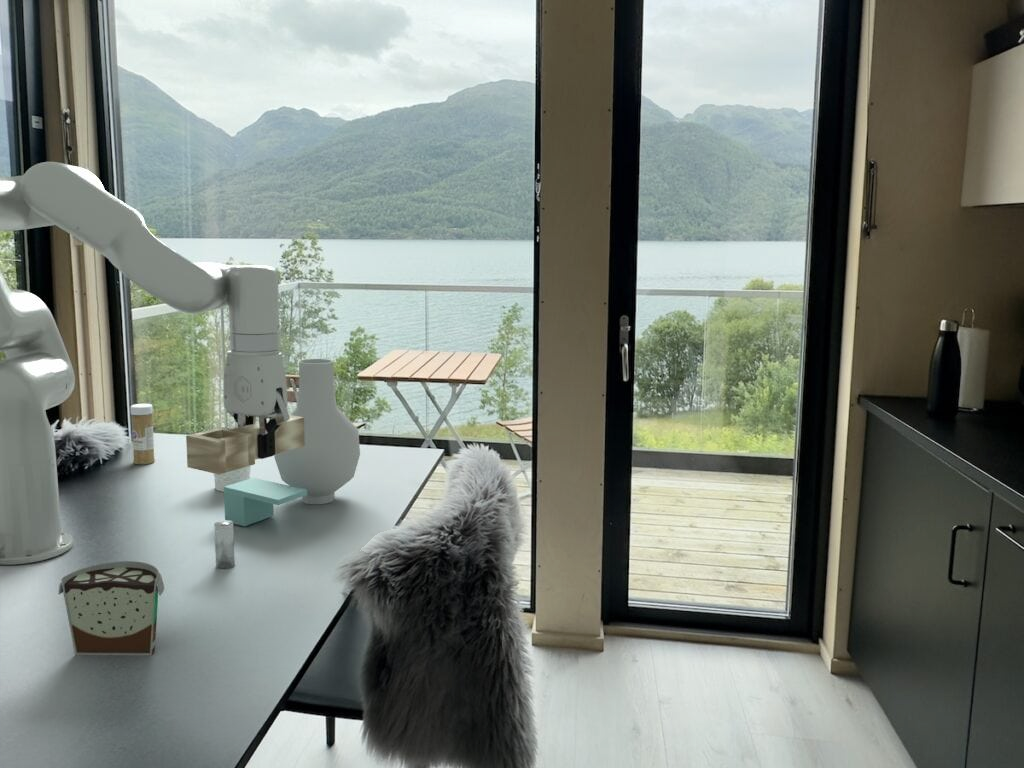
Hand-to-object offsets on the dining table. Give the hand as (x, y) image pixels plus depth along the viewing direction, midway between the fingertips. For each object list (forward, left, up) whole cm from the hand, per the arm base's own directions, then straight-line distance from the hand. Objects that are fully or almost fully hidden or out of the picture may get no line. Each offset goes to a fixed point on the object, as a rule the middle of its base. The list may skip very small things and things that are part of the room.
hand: (258, 454), depth 131 cm
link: (-1, 0, 0) cm, 1 cm away
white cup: (+22, +31, -17) cm, 41 cm away
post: (-7, 0, -17) cm, 18 cm away
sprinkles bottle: (+24, +62, -17) cm, 68 cm away
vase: (+26, +11, -17) cm, 32 cm away
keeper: (+10, +9, -16) cm, 21 cm away
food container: (-31, -9, -17) cm, 37 cm away
